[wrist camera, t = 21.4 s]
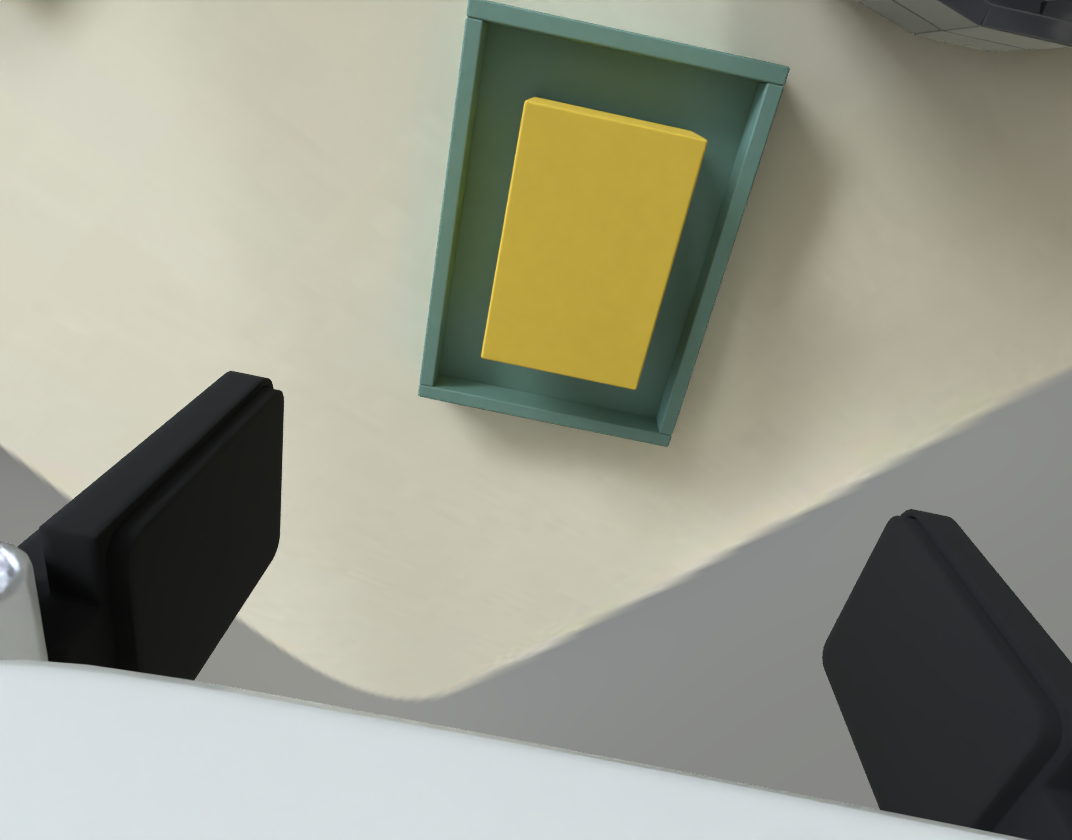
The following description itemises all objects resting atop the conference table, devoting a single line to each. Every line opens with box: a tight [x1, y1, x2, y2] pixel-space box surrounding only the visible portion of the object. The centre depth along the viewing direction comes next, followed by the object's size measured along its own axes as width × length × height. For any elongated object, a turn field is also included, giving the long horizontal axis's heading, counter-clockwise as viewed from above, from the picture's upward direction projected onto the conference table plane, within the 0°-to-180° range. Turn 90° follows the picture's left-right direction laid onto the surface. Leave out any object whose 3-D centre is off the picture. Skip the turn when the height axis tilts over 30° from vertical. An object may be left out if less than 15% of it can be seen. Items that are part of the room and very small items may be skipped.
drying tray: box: [418, 0, 790, 447], centre depth 28 cm, size 15×11×2 cm
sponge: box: [481, 96, 707, 390], centre depth 26 cm, size 9×6×4 cm, turn 169°
